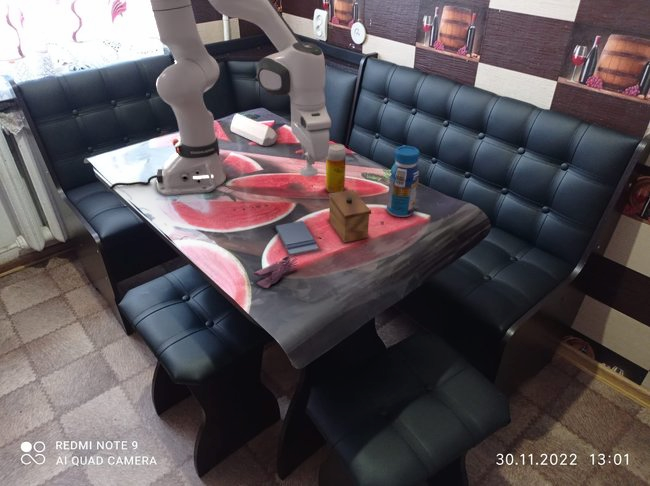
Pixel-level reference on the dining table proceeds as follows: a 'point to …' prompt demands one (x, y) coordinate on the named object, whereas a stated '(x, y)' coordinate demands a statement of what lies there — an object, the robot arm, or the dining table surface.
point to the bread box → (349, 215)
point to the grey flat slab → (296, 238)
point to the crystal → (253, 130)
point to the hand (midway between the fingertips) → (308, 161)
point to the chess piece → (308, 169)
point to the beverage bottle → (403, 182)
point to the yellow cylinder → (335, 168)
